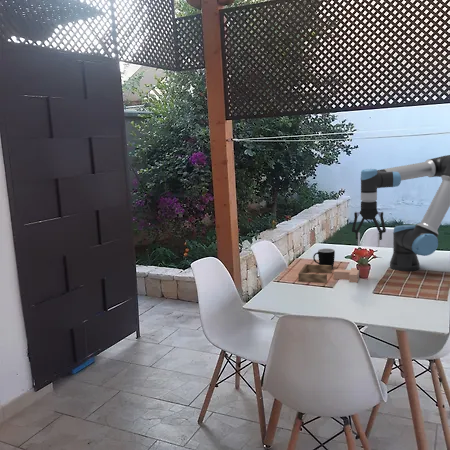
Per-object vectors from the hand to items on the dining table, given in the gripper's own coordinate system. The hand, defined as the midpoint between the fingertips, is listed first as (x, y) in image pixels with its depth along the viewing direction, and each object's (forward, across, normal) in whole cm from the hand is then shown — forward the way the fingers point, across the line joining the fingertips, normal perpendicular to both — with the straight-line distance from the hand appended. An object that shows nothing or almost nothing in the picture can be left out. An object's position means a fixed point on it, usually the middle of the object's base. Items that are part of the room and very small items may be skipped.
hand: (368, 245), depth 232 cm
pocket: (+17, +26, 0) cm, 31 cm away
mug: (+18, +25, -18) cm, 35 cm away
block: (+17, +11, 0) cm, 21 cm away
